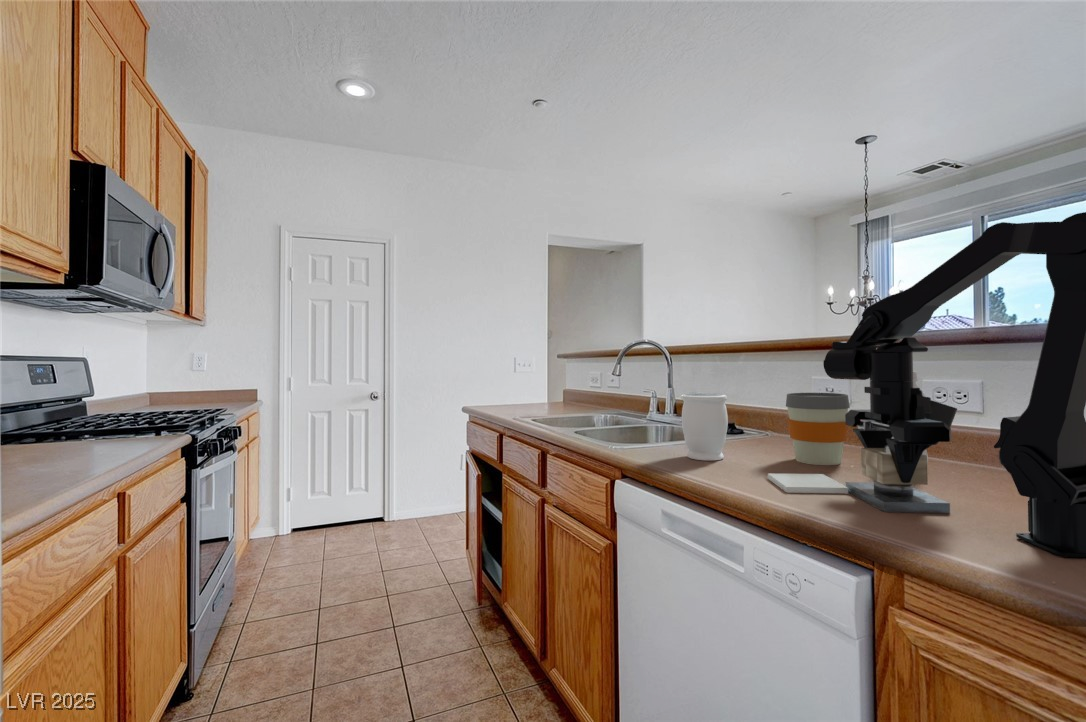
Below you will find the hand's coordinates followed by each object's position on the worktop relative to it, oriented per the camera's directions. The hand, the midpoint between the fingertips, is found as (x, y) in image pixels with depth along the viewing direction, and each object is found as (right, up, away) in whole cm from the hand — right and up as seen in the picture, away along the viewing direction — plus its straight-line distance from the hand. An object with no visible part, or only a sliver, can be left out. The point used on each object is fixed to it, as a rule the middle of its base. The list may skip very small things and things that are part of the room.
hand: (893, 477), depth 78 cm
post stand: (0, -4, 0) cm, 4 cm away
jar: (-18, -4, +37) cm, 41 cm away
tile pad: (-9, -4, +10) cm, 14 cm away
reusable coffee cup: (+5, -4, +31) cm, 31 cm away
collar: (0, 0, 0) cm, 0 cm away
